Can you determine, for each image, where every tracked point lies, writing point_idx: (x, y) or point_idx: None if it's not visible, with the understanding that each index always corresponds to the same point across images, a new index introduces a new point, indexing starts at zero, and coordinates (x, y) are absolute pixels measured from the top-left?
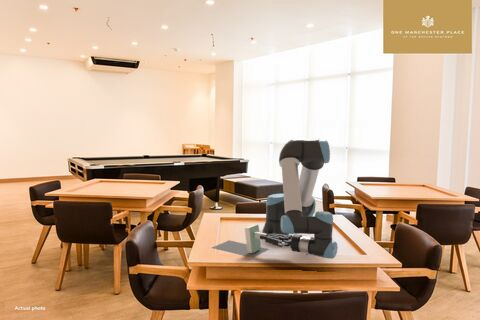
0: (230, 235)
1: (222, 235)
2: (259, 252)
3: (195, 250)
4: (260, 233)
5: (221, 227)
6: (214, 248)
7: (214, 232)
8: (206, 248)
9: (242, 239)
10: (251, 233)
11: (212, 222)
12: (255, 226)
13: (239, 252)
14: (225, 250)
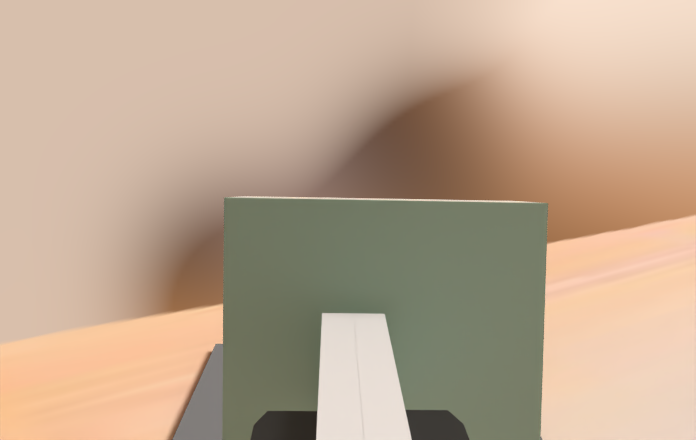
0: (613, 322)
1: (554, 304)
2: None
3: (120, 322)
4: (327, 370)
5: (672, 266)
6: (209, 358)
7: (552, 275)
8: (201, 337)
9: (641, 388)
10: (249, 310)
11: (679, 235)
12: (429, 214)
13: None
14: (201, 414)
